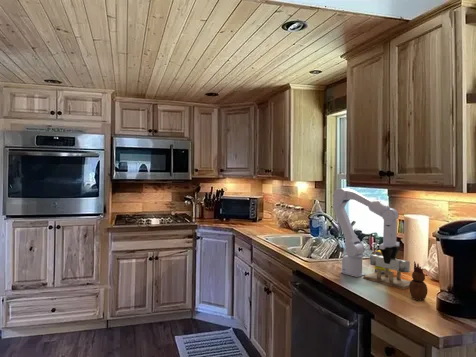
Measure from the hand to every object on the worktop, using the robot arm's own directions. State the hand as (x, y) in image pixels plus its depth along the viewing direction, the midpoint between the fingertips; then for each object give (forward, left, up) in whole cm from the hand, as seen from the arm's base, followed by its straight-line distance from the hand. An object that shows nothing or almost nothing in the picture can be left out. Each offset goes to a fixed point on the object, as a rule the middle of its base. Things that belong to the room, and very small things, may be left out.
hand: (389, 262), depth 165 cm
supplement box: (-10, +13, -9) cm, 19 cm away
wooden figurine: (+20, -13, -9) cm, 25 cm away
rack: (0, 0, -9) cm, 9 cm away
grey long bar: (0, 0, -2) cm, 2 cm away
